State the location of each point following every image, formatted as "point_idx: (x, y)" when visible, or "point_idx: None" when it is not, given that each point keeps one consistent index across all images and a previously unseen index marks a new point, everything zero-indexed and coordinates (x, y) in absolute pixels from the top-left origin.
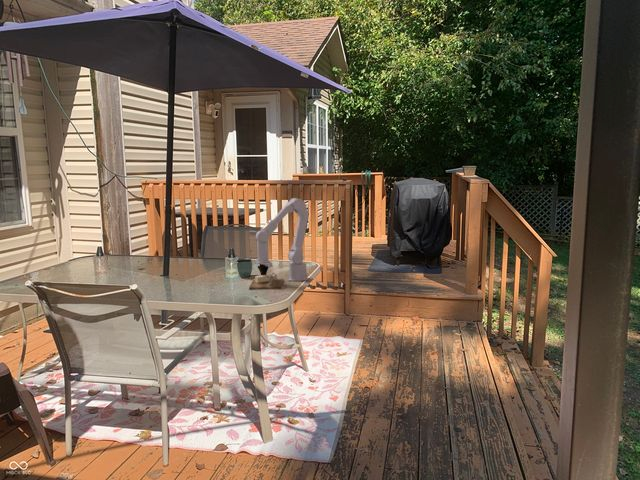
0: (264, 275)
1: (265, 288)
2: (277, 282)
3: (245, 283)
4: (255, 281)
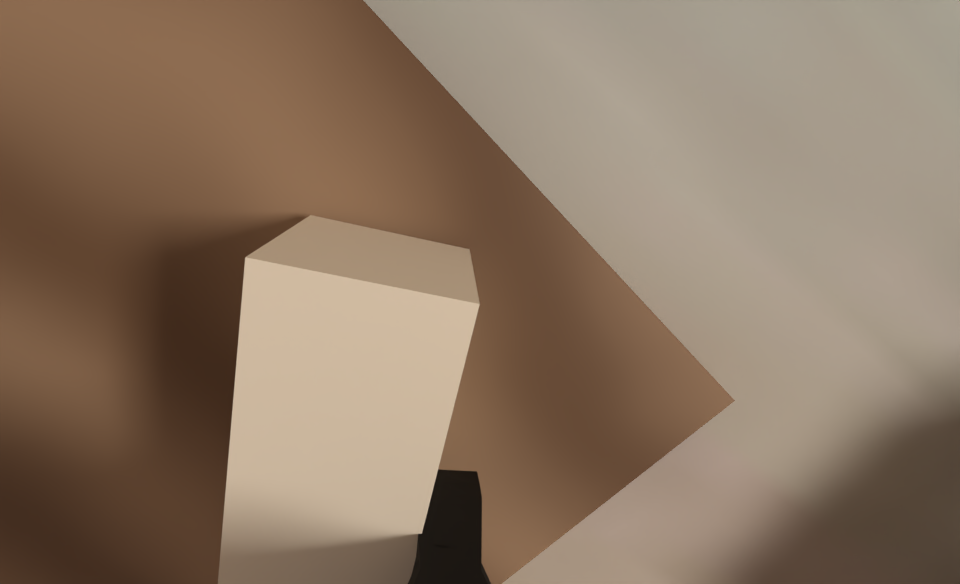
0: (332, 569)
1: None
2: (76, 554)
3: (747, 141)
4: (451, 248)
